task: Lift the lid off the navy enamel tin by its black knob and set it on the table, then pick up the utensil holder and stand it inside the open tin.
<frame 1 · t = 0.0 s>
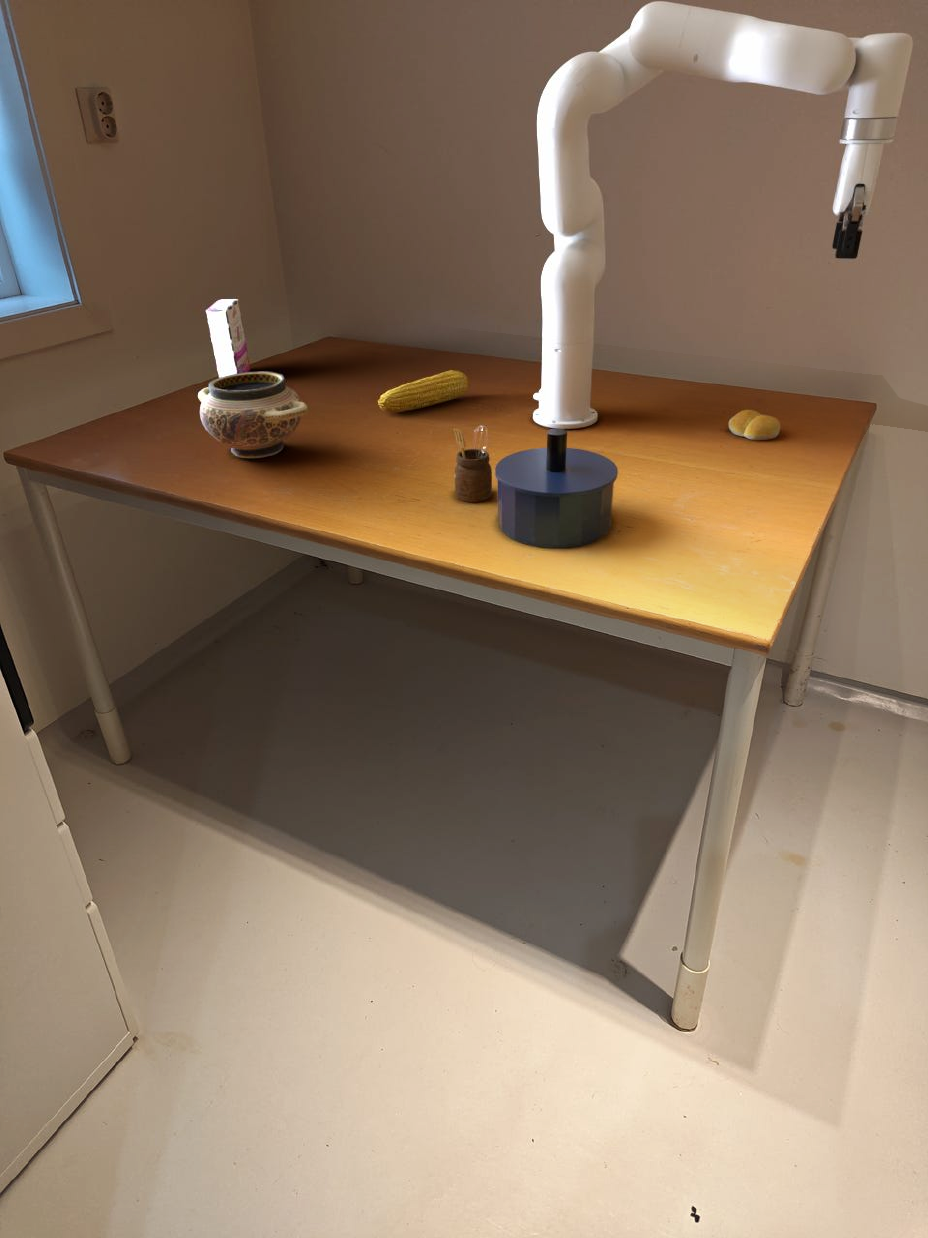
hand: (843, 253, 137), 31 cm above the table, tool pointing down, fingers open, 9 cm apart
tin lid: (555, 472, 121), point 8 cm above the table, touching tin
food: (425, 406, 175), on the table
ceramic bowl: (258, 451, 155), on the table
candy bar box: (235, 377, 198), on the table
tin: (554, 522, 125), on the table
utensil holder: (473, 497, 135), on the table
bread roll: (752, 434, 156), on the table
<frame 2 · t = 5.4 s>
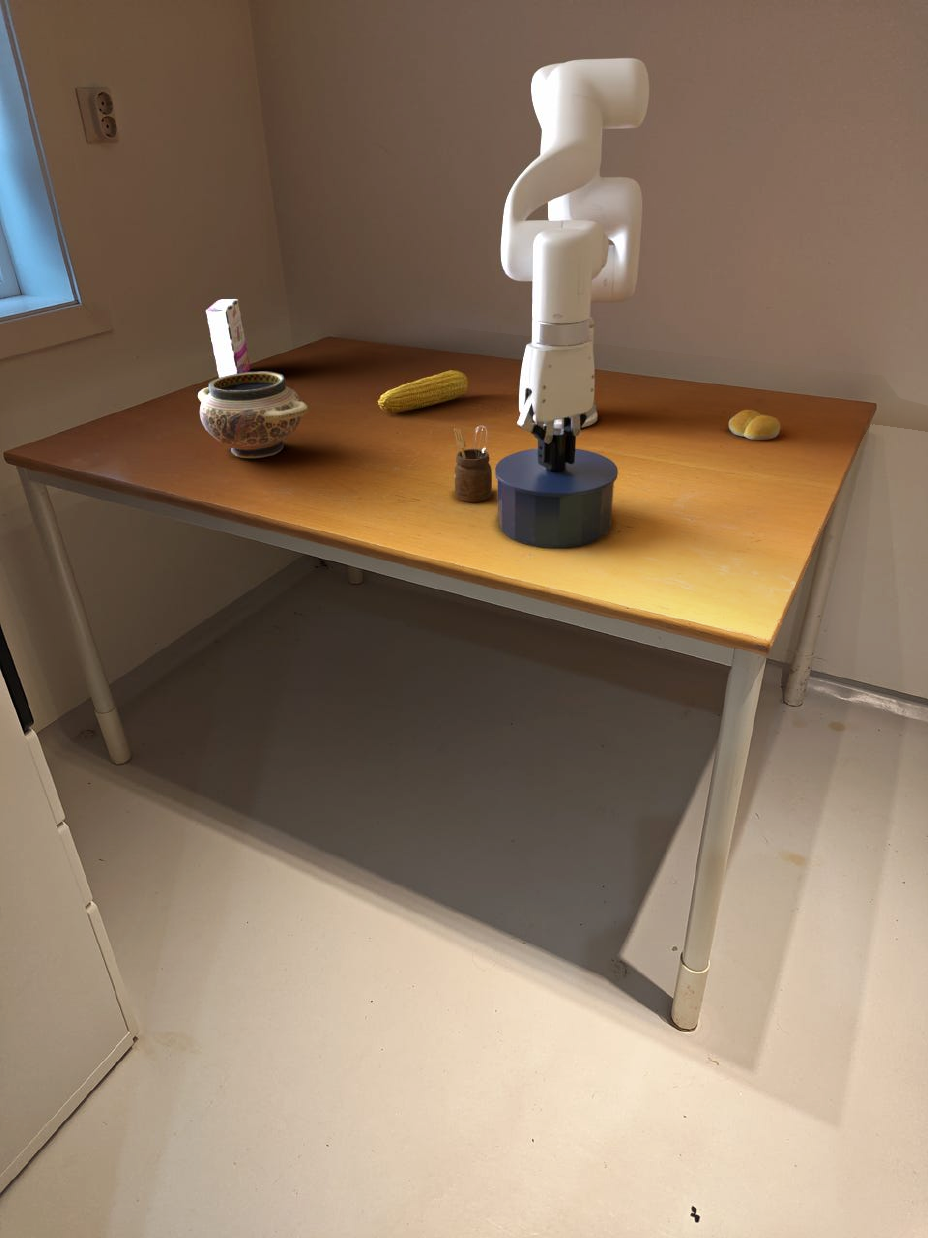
hand: (556, 462, 120), 10 cm above the table, tool pointing down, fingers closed on tin lid, 2 cm apart
tin lid: (555, 472, 121), point 8 cm above the table, touching gripper, tin
everything else where it was.
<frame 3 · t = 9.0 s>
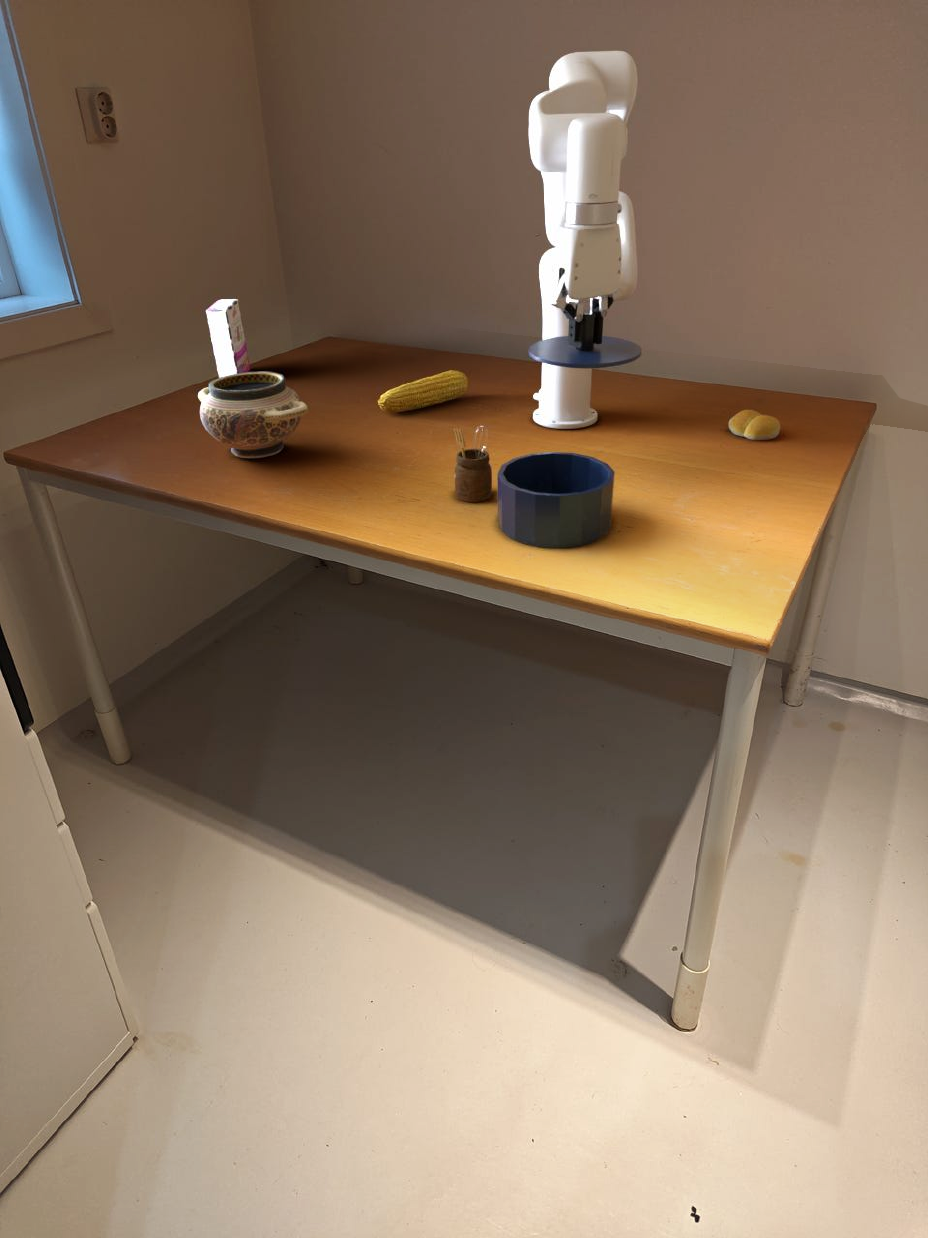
hand: (585, 343, 132), 21 cm above the table, tool pointing down, fingers closed on tin lid, 2 cm apart
tin lid: (584, 352, 132), point 20 cm above the table, touching gripper
everything else where it was.
when the fingers open (2 cm above the table, at t = 12.7 s): tin lid stays where it is, point 1 cm above the table.
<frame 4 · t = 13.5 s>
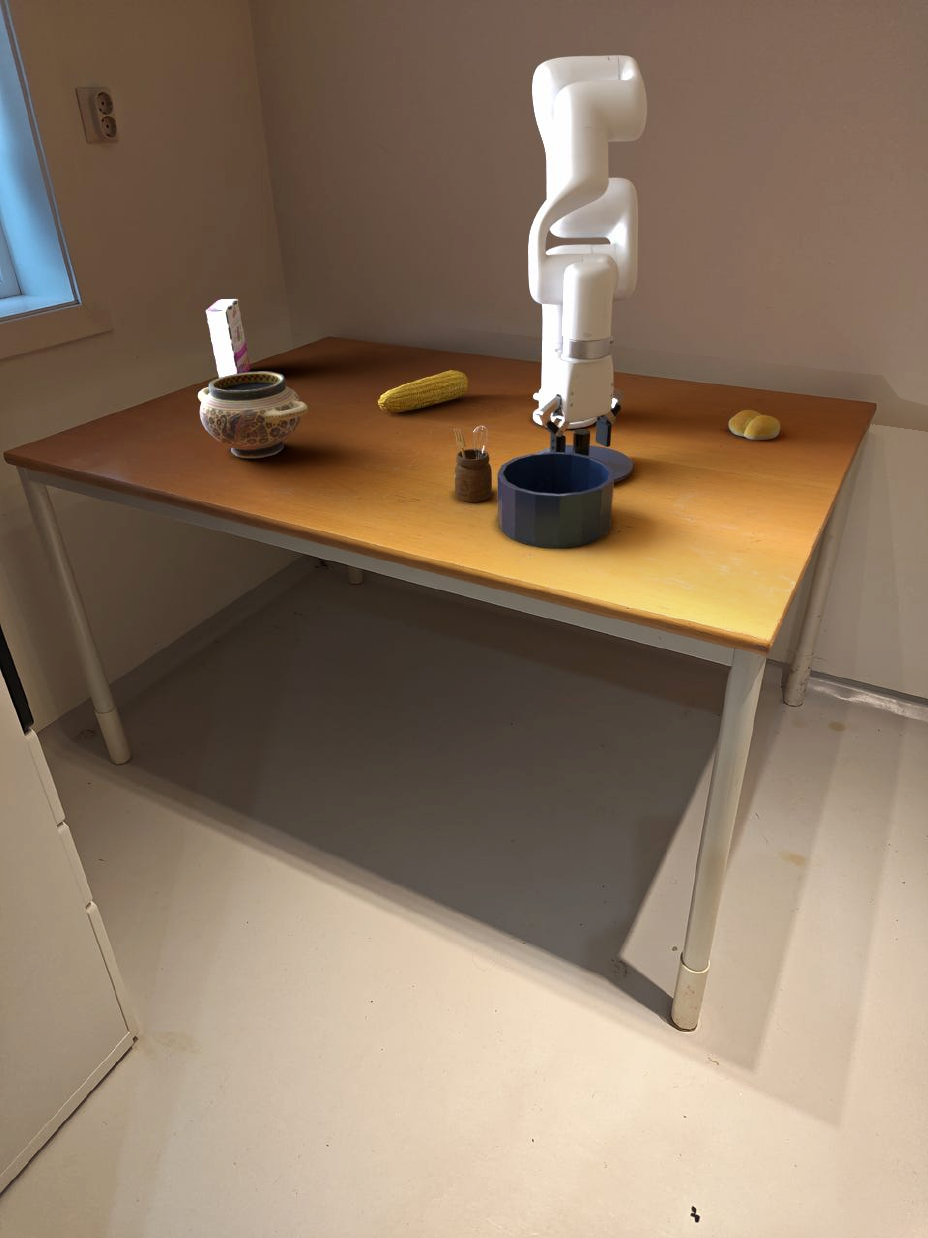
hand: (580, 450, 142), 3 cm above the table, tool pointing down, fingers open, 9 cm apart
tin lid: (580, 466, 143), point 1 cm above the table
everything else where it was.
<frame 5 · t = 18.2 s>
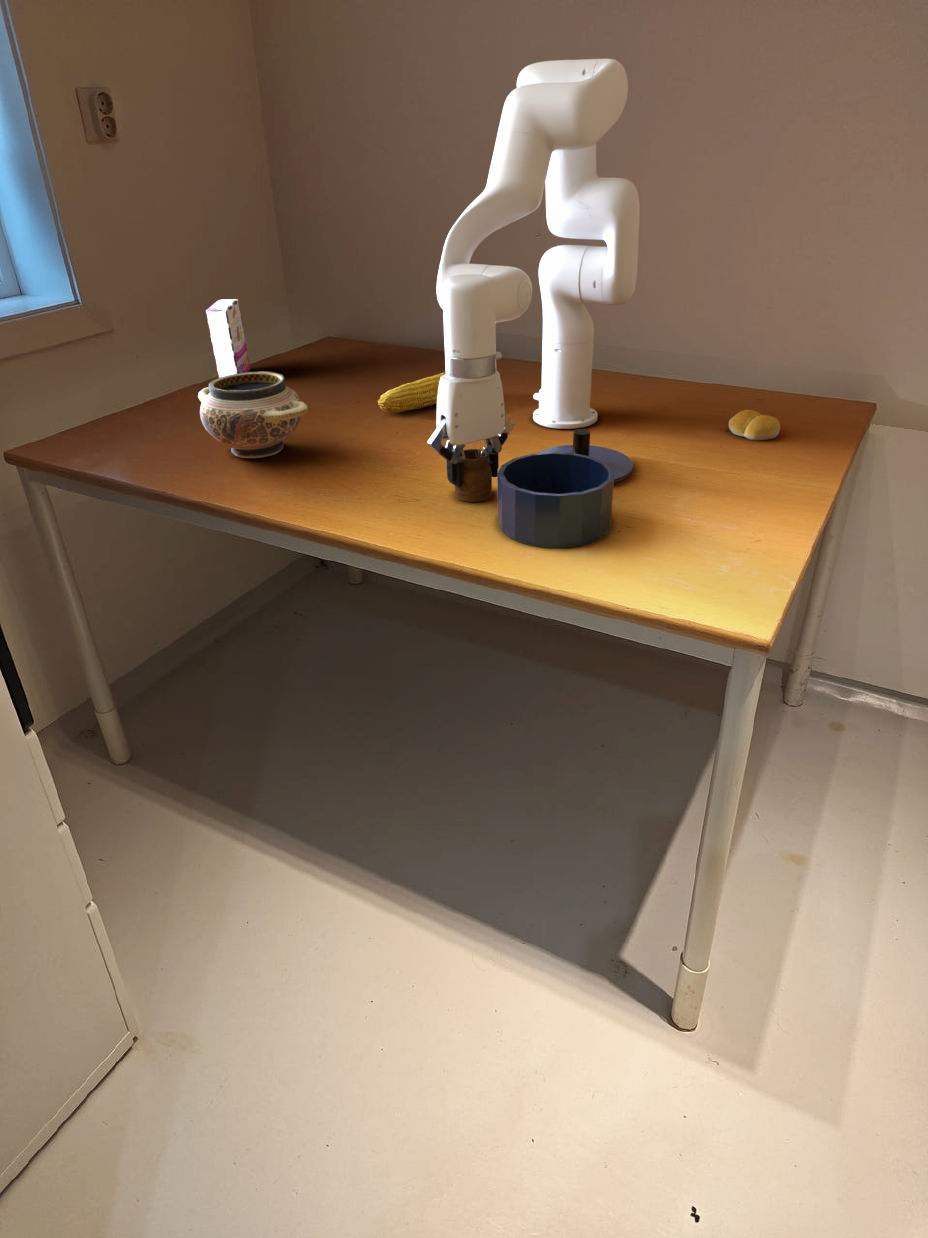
hand: (473, 478, 133), 3 cm above the table, tool pointing down, fingers closed on utensil holder, 5 cm apart
utensil holder: (473, 497, 135), on the table, touching gripper
everything else where it was.
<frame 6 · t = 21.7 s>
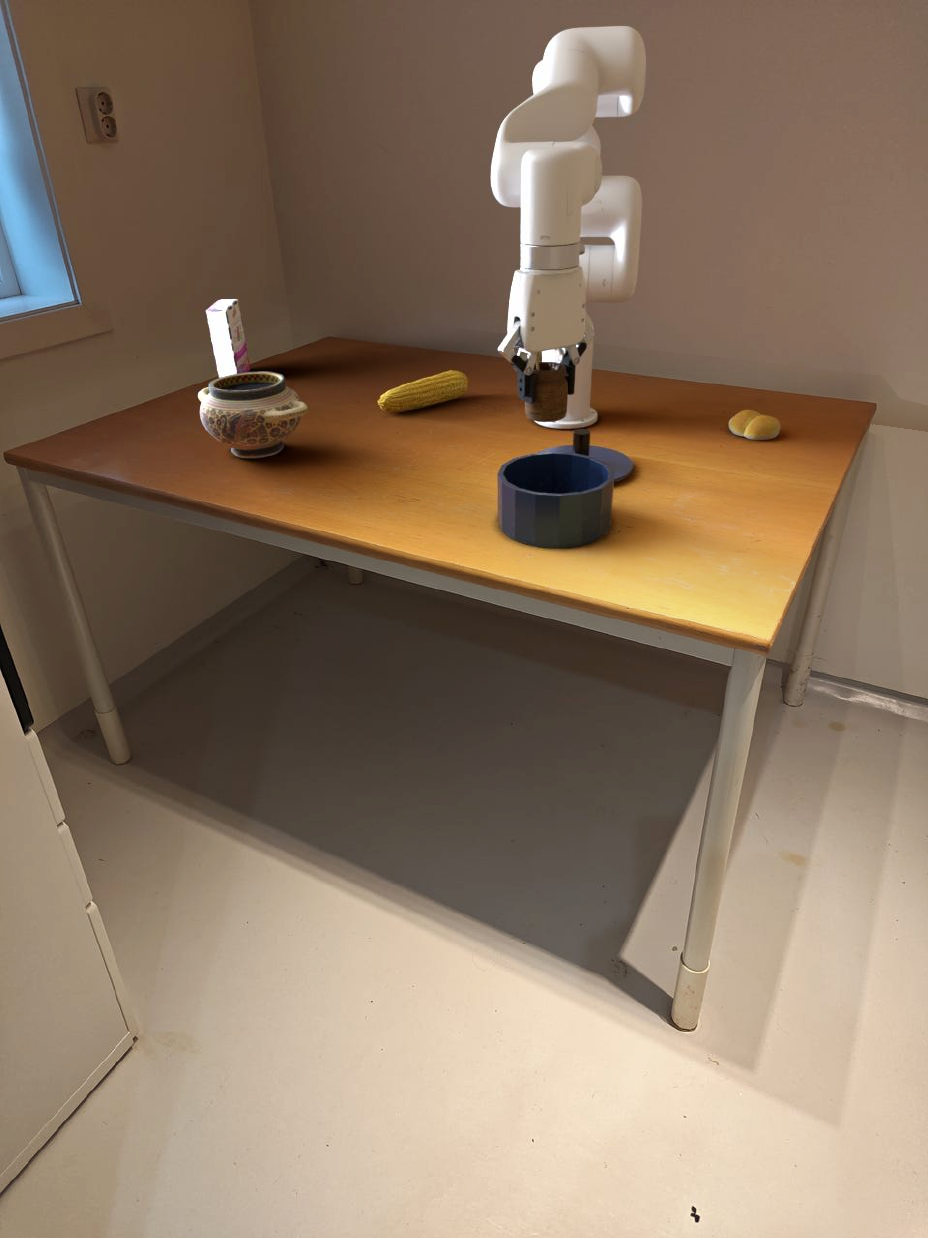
hand: (546, 395, 117), 19 cm above the table, tool pointing down, fingers closed on utensil holder, 5 cm apart
utensil holder: (545, 417, 118), point 16 cm above the table, touching gripper
everything else where it was.
when the fingers open (3 cm above the table, at t = 25.7 s): utensil holder stays where it is, resting on tin.
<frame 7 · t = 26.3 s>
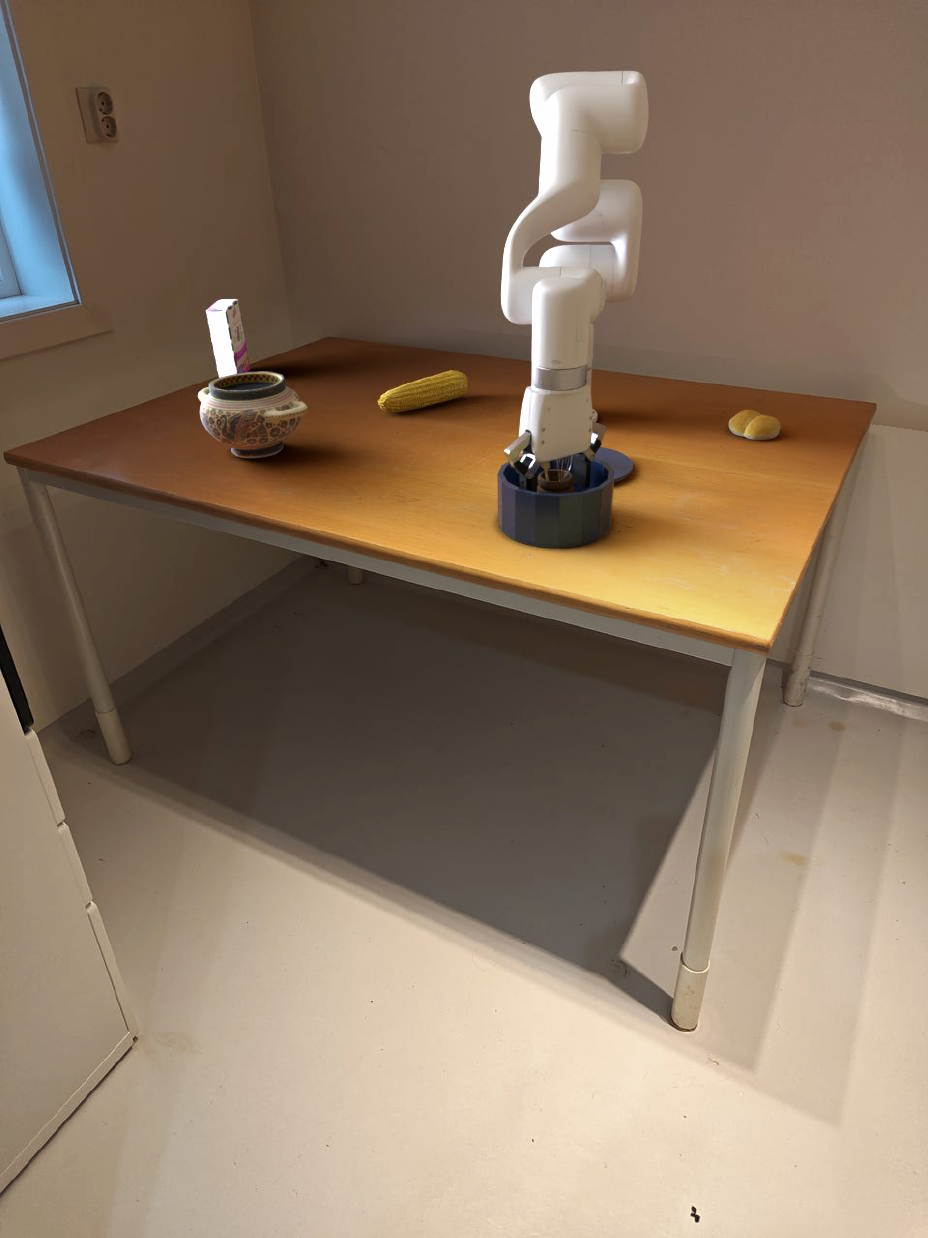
hand: (555, 492, 123), 5 cm above the table, tool pointing down, fingers open, 9 cm apart
utensil holder: (553, 521, 125), resting on tin
everything else where it was.
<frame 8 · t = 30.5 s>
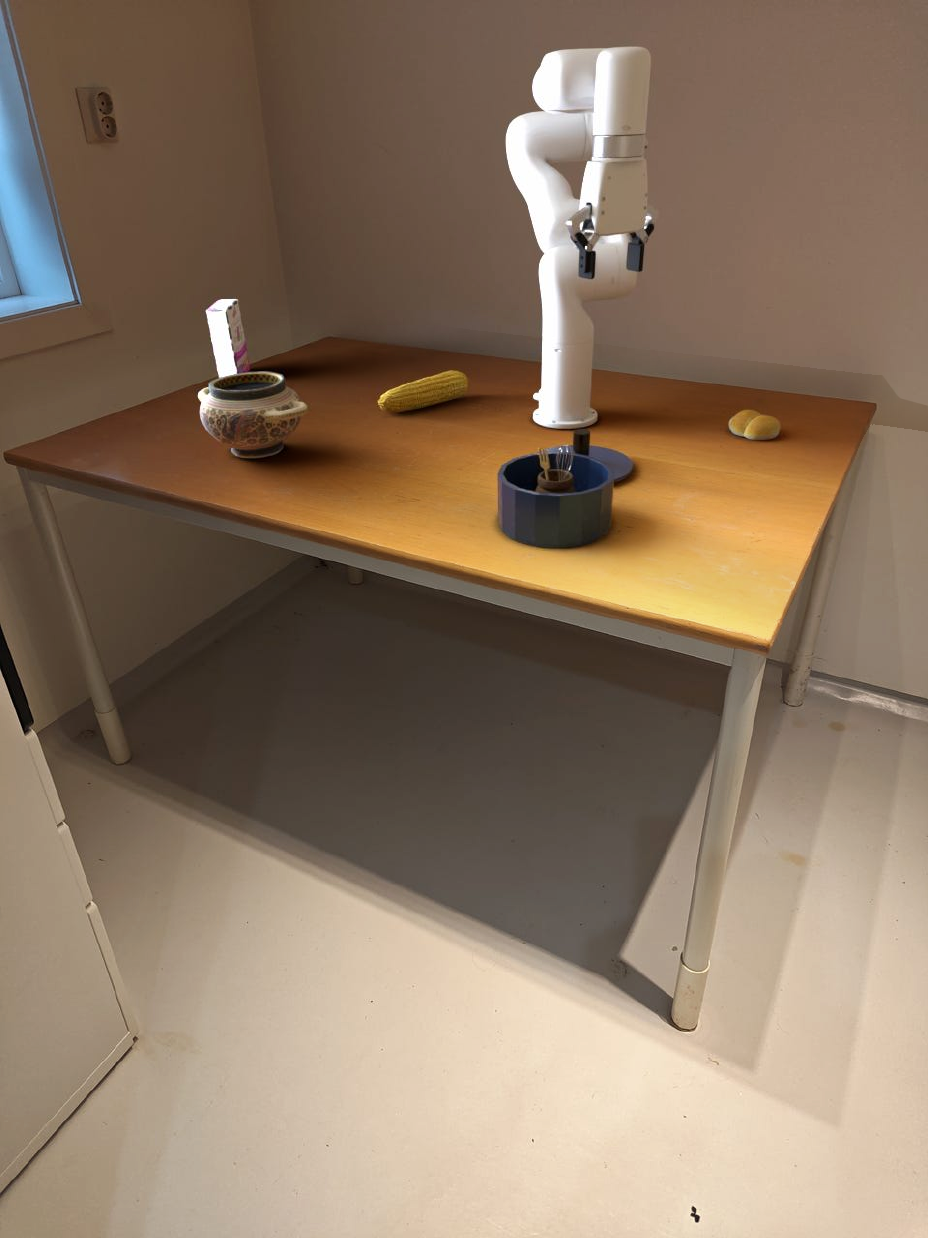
hand: (610, 274, 131), 30 cm above the table, tool pointing down, fingers open, 9 cm apart
nothing on the table moved.
at the end: tin lid inside the target area (0.2 cm from its centre), point 0.6 cm above the table; utensil holder inside the target area in the tin (0.1 cm from its centre), point 0.3 cm above the tin's base; utensil holder tilted 0° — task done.
